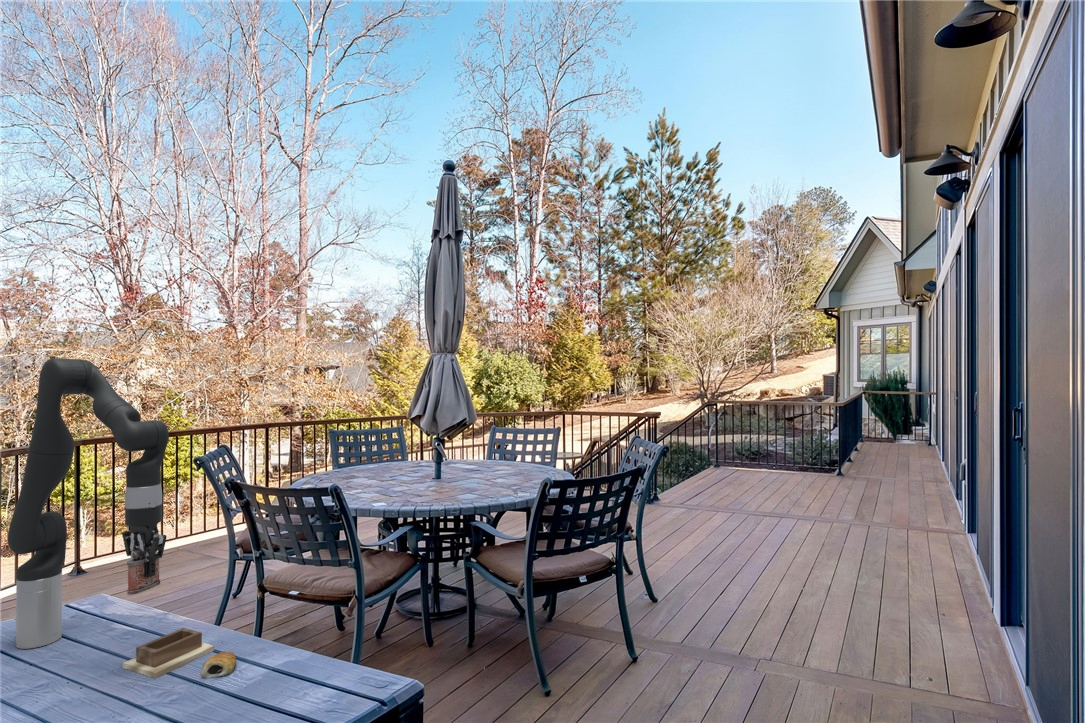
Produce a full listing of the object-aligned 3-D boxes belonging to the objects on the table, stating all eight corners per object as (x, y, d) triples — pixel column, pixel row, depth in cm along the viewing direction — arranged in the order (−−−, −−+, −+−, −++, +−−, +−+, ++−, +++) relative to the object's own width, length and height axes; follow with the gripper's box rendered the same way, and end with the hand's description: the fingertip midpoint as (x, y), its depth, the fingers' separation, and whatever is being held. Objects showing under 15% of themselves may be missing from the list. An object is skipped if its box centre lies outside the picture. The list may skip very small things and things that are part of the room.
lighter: (135, 595, 141) (134, 552, 141) (123, 594, 142) (123, 551, 142) (163, 583, 149) (163, 542, 149) (152, 582, 150) (152, 541, 150)
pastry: (212, 661, 148) (212, 645, 148) (242, 658, 149) (242, 643, 149) (198, 680, 138) (199, 663, 138) (230, 677, 140) (231, 661, 140)
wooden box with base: (122, 667, 144) (122, 648, 144) (182, 641, 158) (182, 623, 158) (155, 678, 139) (155, 657, 139) (214, 650, 153) (214, 631, 153)
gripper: (109, 504, 145) (110, 576, 145) (146, 509, 139) (146, 584, 139) (141, 498, 152) (142, 567, 152) (177, 502, 146) (178, 574, 146)
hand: (144, 575), depth 145 cm, fingers closed on lighter, 3 cm apart
